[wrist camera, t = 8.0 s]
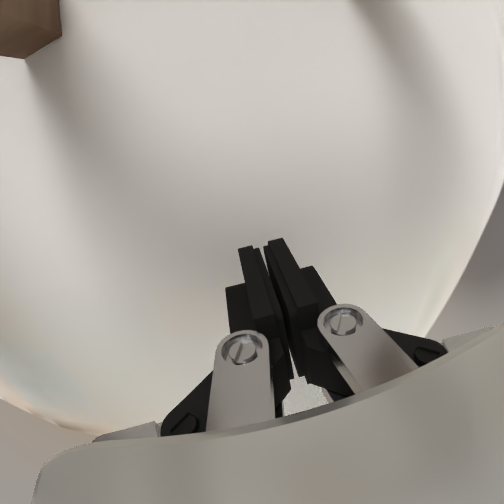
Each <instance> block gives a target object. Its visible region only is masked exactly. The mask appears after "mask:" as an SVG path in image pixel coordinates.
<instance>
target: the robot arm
mask: <svg viewBox="0 0 504 504" xmlns="http://www.w3.org/2000/svg"><path fill="white" fill-rule="evenodd" d="M263 248H264V254H265V258H266V263H267V268H268V271H267V269H266V266H265V263H264V260H263V258H262V255H261V252H260V249H259V248H255V249H253V246H252V245H251V246H247V247H243V248H239V249H238V252H239V257H240V261H241V266H242V271H243V275H244V280H245V283H242V284H238V285H234V286H230V287H226V288H225V291H226V300H227V309H228V318H229V326H230V335H228V336H226V337H225V338H224V339H223V340H222V341H221V342H220V343H219V345H218V346H217V349H216V353H215V360H214V368H213V371H212V372H211V373H210V374H209V375H208V376H207V377H206V378H205V379H204V380H203V381H202V382H201V383H200V384H199V385H198V386H197V387H196V388H195V389H194V390H193V391H192V392H191V393H190V394H189V395H188V396H187V397H186V398H185V399H184V400H182V401H181V402H180V403H179V404H178V405H177V406H176V407H175V408H174V409H173V410H172V411H171V412H170V413H169V414H168V415H167V416H166V418H165V419H164V420H163V422H161V423H158V424H157V423H156V422H155V421H153V422H149V423H146V424H143V425H139V426H135V427H132V428H128V429H124V430H120V431H116V432H112V433H108V434H103V435H101V436H99V437H97V438H96V439H95V440H93V441H92V443H88V444H83V445H80V446H76V447H73V448H70V449H67V450H64V451H62V452H60V453H58V454H56V455H54V456H52V457H51V458H50V459H49V460H47V462H46V463H45V464H44V465H43V467H42V469H41V471H40V473H39V475H38V478H37V481H36V485H35V488H34V492H33V497H32V502H31V504H504V323H502V324H499V325H497V326H496V327H492V326H491V327H484V328H481V329H478V330H475V331H471V332H468V333H464V334H461V335H457V336H453V337H450V338H446V339H443V341H442V343H438V342H436V341H434V340H431V339H426V338H422V337H417V336H413V335H408V334H404V333H400V332H395V331H391V330H387V329H383V328H381V327H380V326H379V325H378V324H377V323H376V322H375V321H374V320H373V319H372V318H371V317H370V316H369V315H368V314H367V313H366V312H365V311H364V310H363V309H361V308H360V307H358V306H355V305H351V304H338V305H337V304H336V302H335V300H334V299H333V297H332V295H331V294H330V292H329V291H328V289H327V287H326V286H325V284H324V283H323V281H322V279H321V278H320V276H319V275H318V273H317V271H316V270H315V268H314V267H313V266H309V267H305V268H301V269H300V268H299V266H298V264H297V263H296V261H295V259H294V257H293V255H292V254H291V252H290V250H289V248H288V247H287V245H286V243H285V241H284V239H283V238H280V239H276V240H272V241H268V245H267V246H263ZM268 273H269V274H268ZM289 349H290V352H291V355H292V358H293V361H294V364H295V367H296V370H297V373H298V376H299V377H301V376H305V378H306V381H307V384H310V383H311V384H314V385H317V386H319V387H322V391H323V394H324V396H325V397H326V399H327V401H328V402H329V404H326V405H323V406H320V407H316V408H313V409H310V410H306V411H303V412H299V413H295V414H291V415H288V416H285V415H284V404H283V399H284V398H285V397H286V395H287V394H288V393H289V391H290V390H291V385H290V379H294V374H293V369H292V363H291V358H290V352H289Z"/></svg>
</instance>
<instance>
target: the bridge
mask: <svg viewBox="0 0 504 504" xmlns="http://www.w3.org/2000/svg"><path fill="white" fill-rule="evenodd" d="M61 36H62V33H61V24H60V12H59V0H0V56H6V57H13V58H20V59H25V58H26V57H28V56H29V55H31V54H32V53H34V52H36V51H37V50H39V49H40V48H42V47H44V46H45V45H47V44H49V43H50V42H52V41H54V40H55V39H57V38H59V37H61Z"/></svg>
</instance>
